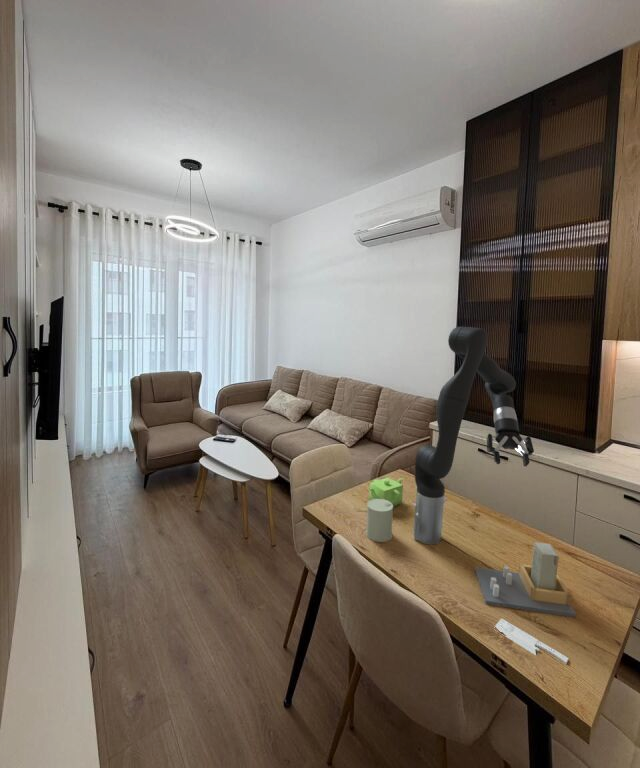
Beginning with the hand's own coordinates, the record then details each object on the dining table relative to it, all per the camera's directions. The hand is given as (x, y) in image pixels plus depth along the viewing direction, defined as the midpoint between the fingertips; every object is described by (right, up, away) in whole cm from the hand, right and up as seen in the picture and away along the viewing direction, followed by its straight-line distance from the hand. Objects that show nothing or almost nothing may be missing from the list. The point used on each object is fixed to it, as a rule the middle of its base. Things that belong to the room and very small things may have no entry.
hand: (512, 464), depth 123 cm
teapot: (-37, -24, +31) cm, 54 cm away
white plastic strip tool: (-15, -36, -35) cm, 52 cm away
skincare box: (-1, -32, -18) cm, 36 cm away
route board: (-7, -32, -18) cm, 38 cm away
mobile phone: (-18, -24, +33) cm, 44 cm away
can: (-43, -27, +9) cm, 52 cm away
